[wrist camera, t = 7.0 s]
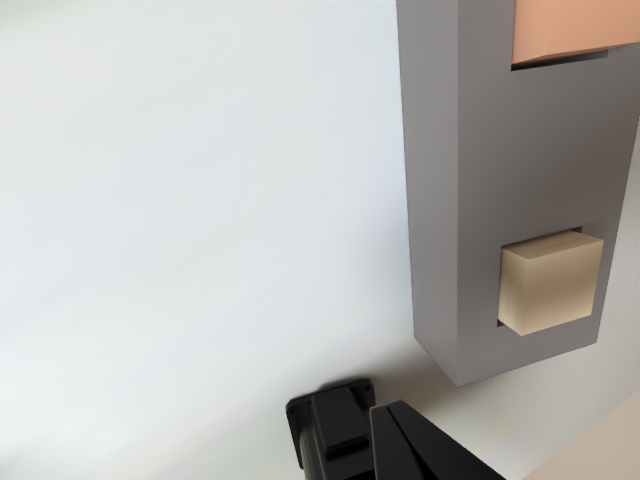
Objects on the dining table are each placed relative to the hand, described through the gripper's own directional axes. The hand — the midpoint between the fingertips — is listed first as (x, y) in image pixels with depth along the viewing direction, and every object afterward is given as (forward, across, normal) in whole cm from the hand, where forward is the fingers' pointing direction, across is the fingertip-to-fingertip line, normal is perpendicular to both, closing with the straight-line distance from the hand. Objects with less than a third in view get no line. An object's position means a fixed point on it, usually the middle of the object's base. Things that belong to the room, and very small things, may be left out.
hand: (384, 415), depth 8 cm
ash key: (+10, -12, +2) cm, 16 cm away
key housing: (+12, -12, -4) cm, 17 cm away
